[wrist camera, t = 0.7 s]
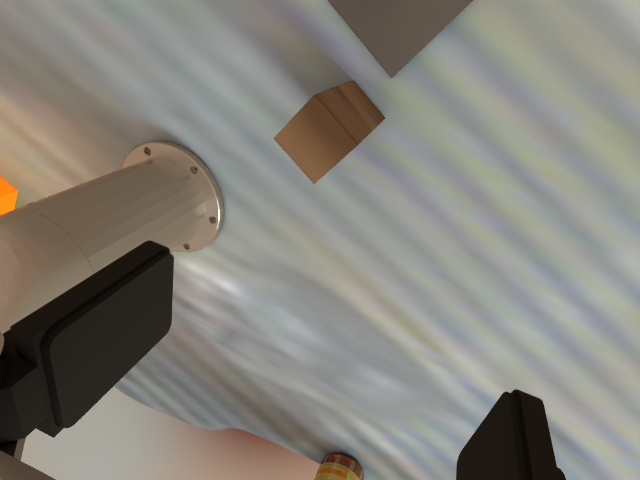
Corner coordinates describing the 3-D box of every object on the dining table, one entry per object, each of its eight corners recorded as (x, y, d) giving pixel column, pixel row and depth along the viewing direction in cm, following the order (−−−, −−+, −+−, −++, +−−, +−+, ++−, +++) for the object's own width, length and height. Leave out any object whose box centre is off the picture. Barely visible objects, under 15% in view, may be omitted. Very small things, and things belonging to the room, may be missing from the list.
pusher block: (350, 149, 35) (314, 184, 26) (320, 114, 34) (273, 138, 26) (385, 118, 33) (357, 145, 24) (353, 80, 32) (313, 95, 24)
